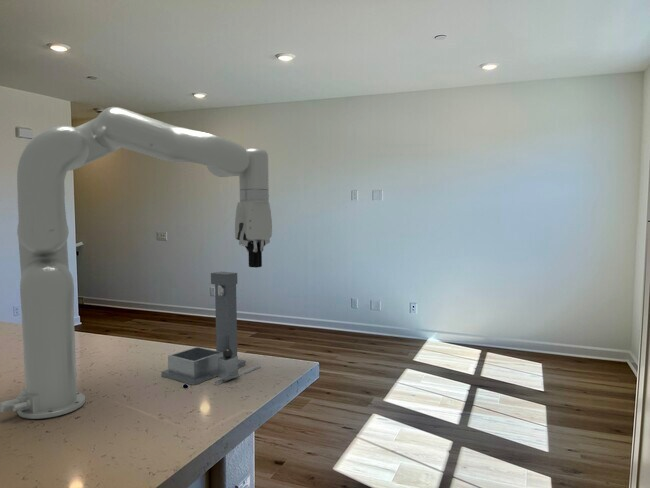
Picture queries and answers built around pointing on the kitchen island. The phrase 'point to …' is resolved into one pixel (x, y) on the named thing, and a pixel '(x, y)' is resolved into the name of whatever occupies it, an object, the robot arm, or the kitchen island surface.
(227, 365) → the lever
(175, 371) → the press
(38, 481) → the kitchen island surface
